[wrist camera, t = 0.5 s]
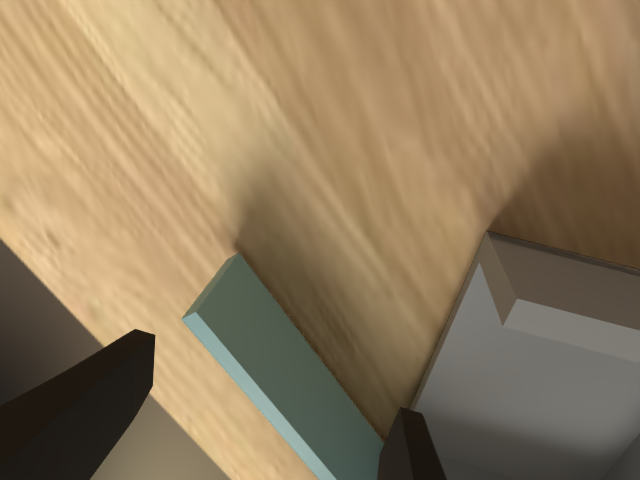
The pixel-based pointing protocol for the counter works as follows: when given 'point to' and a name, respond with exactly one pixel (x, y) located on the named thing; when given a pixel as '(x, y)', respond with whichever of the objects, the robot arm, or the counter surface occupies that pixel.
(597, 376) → the grey open box
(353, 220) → the counter surface
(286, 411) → the door
